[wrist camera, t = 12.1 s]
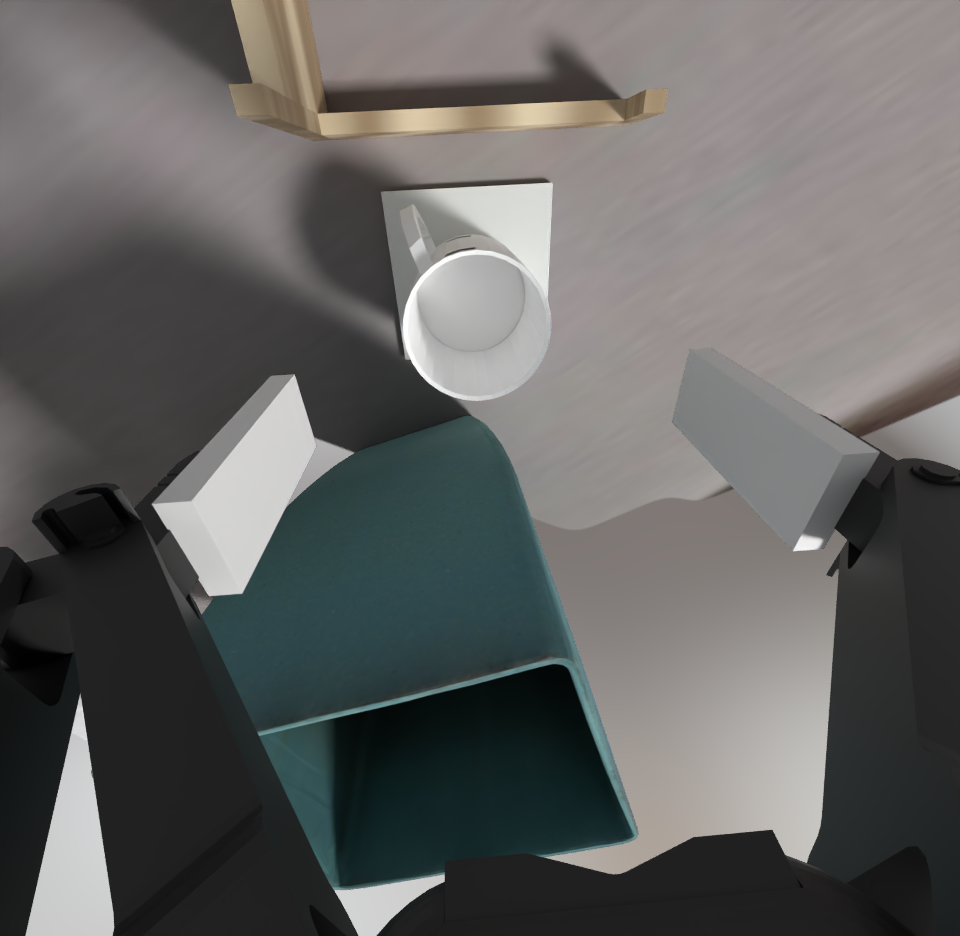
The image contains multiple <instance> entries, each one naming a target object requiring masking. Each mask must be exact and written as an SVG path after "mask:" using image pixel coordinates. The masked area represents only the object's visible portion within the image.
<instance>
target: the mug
mask: <svg viewBox="0 0 960 936" xmlns="http://www.w3.org/2000/svg"><path fill="white" fill-rule="evenodd" d="M400 217H401V223H402V226H403V230H404V233H405V236H406V240H407V243H408V246H409V249H410V251H411V253H412V256H413V258H414V261H415V263H416V265H417V268H418V270H419V272H418V274H417V277H416V280H415V282H414V285H413V288H412V290H411V293H410V296H409V298H408V301H407V304H406V307H405V313H404V318H403V336H404V340H405V345H406V349H407V352H408V354H409V356H410V359H411V361H412V363H413V365H414V366H415V368H416V369H417V371H418V372H419V374H420V375H421V376H422V377H423V378H424V379H425V380H426V381H427V382H428V383H429V384H430V385H432V386H433V387H435V388H436V389H438V390H439V391H441V392H443V393H445V394H447V395H450V396H452V397H455V398H459V399H463V400H474V401H481V400H489V399H494V398H497V397H500V396H503V395H506V394H508V393H510V392H512V391H513V390H515V389H517V388H518V387H520V386H521V385H522V384H523V383H525V382H526V381H527V380H528V379H529V378H530V377H531V376H532V375H533V373H534V372H535V371H536V370H537V368H538V367H539V365H540V363H541V362H542V360H543V358H544V356H545V353H546V351H547V348H548V345H549V341H550V335H551V313H550V309H549V304H548V300H547V298H546V296H545V293H544V291H543V289H542V287H541V285H540V284H539V283H538V281H537V280H536V278H535V277H534V276H533V274H532V273H531V272H530V271H529V270H528V269H527V268H526V267H525V265H524V264H523V263H522V262H521V261H520V260H519V259H518V258H517V257H516V256H515V255H514V254H513V253H512V252H511V251H510V250H509V249H508V248H507V247H506V246H505V245H503V244H502V243H500V242H498V241H496V240H495V239H492V238H489V237H486V236H483V235H473V234H468V235H461V236H456V237H454V238H451V239H448V240H446V241H445V242H443V243H441V244H440V245H438V246H437V247H435V245H434V243H433V241H432V238H431V236H430V234H429V232H428V229H427V227H426V226H425V224H424V222H423V220H422V218H421V216H420V214H419V212H418V211H417V209H416V207H415V205H413V204H412V205H410V206H408V207H407V208H405V209H402V210H400Z"/></svg>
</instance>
